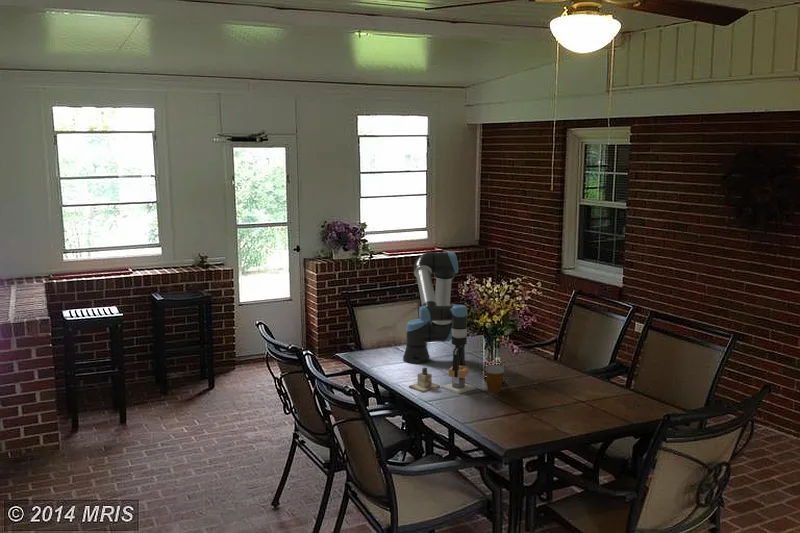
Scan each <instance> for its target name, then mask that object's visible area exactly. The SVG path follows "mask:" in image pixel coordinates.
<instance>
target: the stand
mask: <svg viewBox="0 0 800 533" xmlns="http://www.w3.org/2000/svg"><path fill="white" fill-rule="evenodd" d="M421 370H422V372H420V373H419V372H418V373H417V382H416V383H415V384H411V385H408V388H409V389H411V390H414V391H418V392H420V393H426V392H429V391H433V390H436V389H440V388H441V385H439V384H436V383H433V382H432V379H433V377H432V376H433V375H432V373H429V372H428V368H427V367H422V369H421Z"/></svg>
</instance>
